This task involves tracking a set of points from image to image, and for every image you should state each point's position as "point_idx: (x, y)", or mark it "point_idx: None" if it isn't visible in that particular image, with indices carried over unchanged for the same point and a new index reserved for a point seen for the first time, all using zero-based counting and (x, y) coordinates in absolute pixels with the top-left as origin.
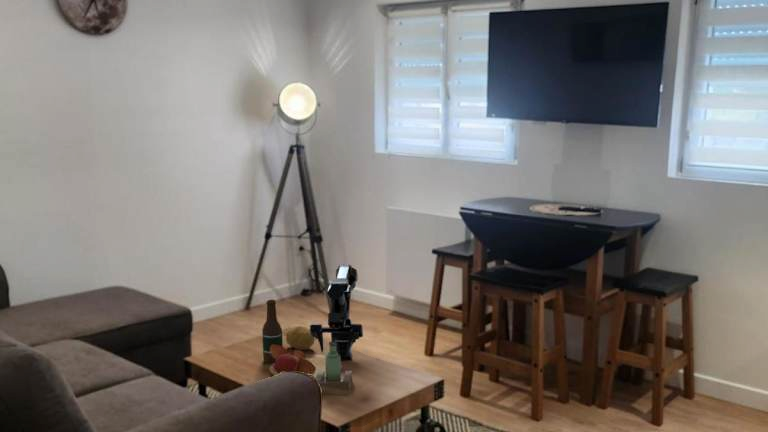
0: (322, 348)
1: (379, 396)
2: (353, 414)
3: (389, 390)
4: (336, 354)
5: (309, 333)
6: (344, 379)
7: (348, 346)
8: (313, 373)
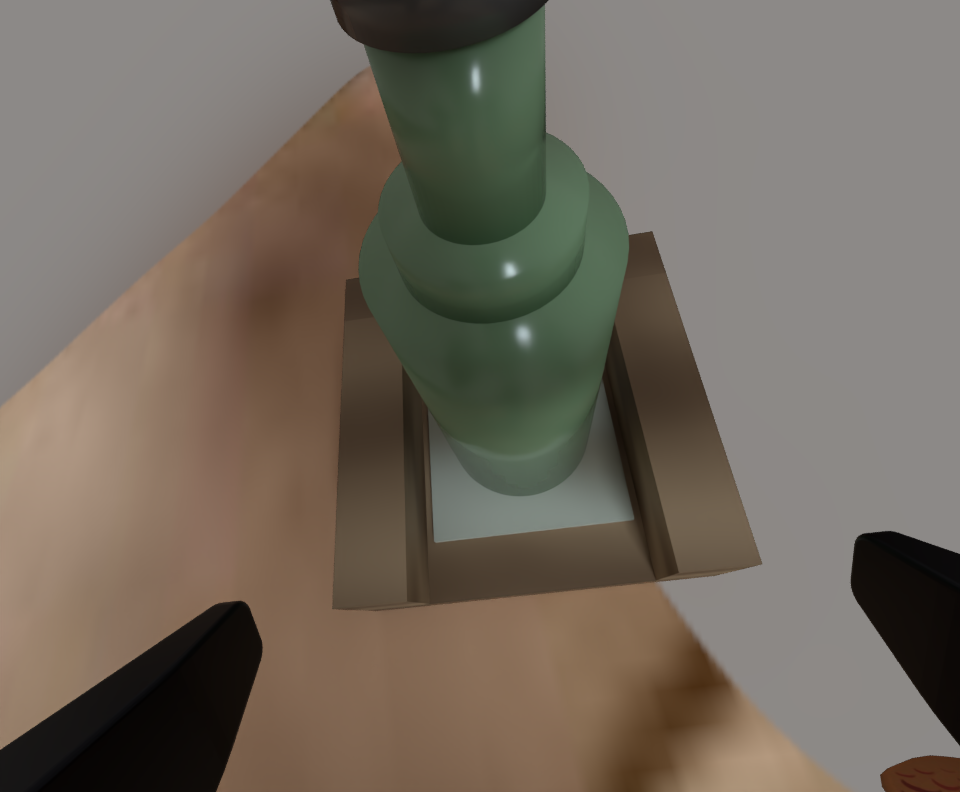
0: (929, 570)
1: (173, 350)
2: (329, 132)
3: (87, 459)
4: (401, 167)
5: None
6: (390, 353)
7: (125, 693)
8: (885, 772)
